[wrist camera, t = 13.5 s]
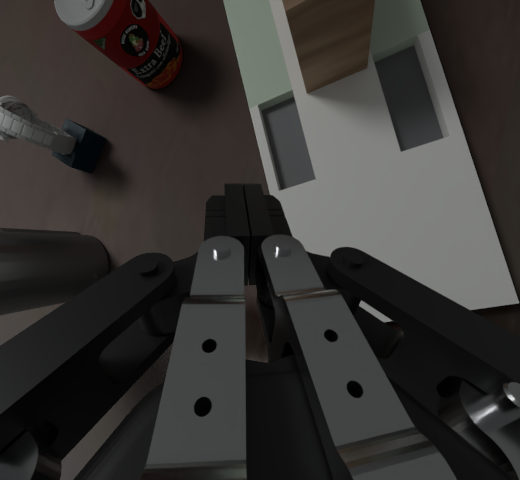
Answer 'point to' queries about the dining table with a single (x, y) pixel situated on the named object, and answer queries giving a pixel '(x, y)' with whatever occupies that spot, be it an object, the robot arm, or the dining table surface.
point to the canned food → (127, 36)
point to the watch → (50, 135)
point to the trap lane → (373, 154)
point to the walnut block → (330, 38)
